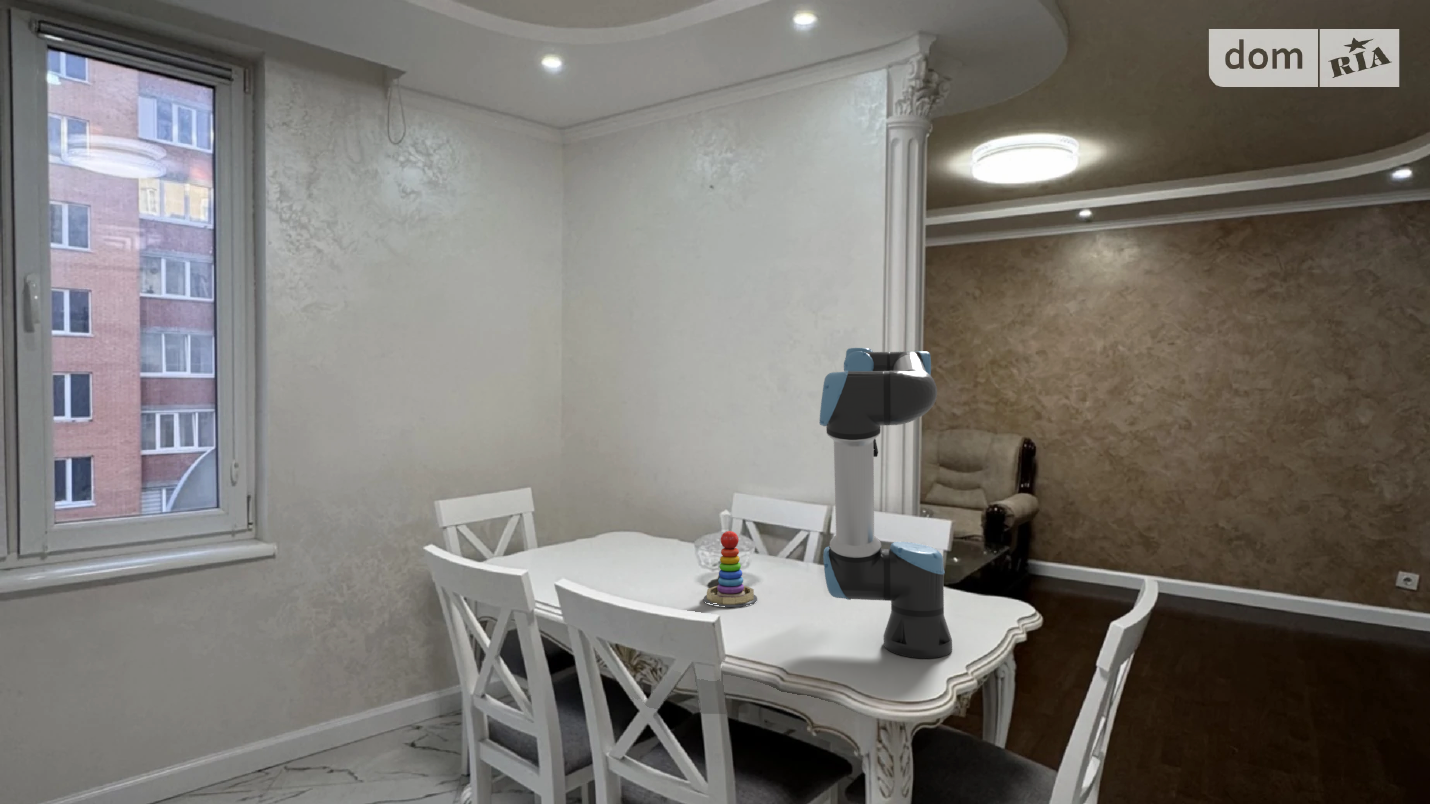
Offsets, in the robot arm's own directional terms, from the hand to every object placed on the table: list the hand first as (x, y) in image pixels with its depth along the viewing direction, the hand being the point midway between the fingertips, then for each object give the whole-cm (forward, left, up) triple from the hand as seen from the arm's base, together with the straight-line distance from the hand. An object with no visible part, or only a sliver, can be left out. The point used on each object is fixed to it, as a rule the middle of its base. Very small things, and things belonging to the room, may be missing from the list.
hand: (856, 481), depth 209 cm
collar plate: (0, +35, -33) cm, 49 cm away
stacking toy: (0, +35, -33) cm, 48 cm away
